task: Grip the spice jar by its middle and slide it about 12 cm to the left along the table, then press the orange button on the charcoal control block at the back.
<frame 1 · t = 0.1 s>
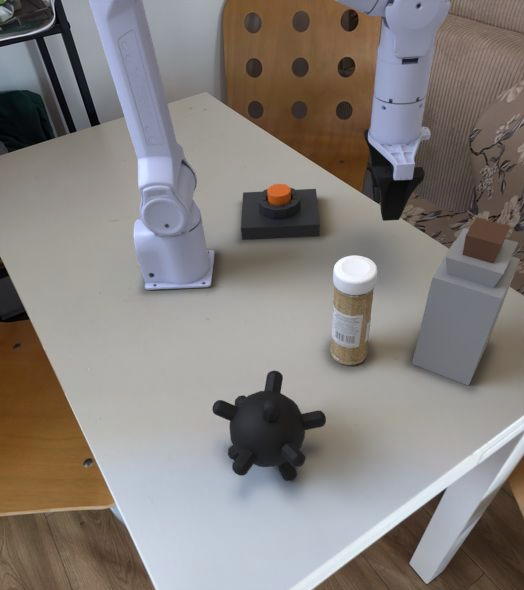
hand: (385, 201, 67), 10 cm above the table, tool pointing down, fingers open, 7 cm apart
control block: (280, 219, 83), on the table
button: (279, 195, 80), point 4 cm above the table, slide at 0.1 cm
spice jar: (348, 353, 64), on the table
toy ball: (266, 456, 55), on the table
perfume bottle: (449, 356, 62), on the table
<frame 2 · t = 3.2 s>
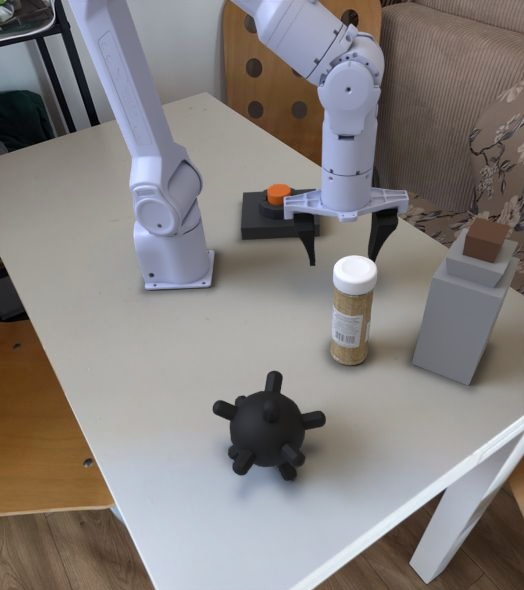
hand: (341, 259, 68), 5 cm above the table, tool pointing down, fingers open, 7 cm apart
nothing on the table moved.
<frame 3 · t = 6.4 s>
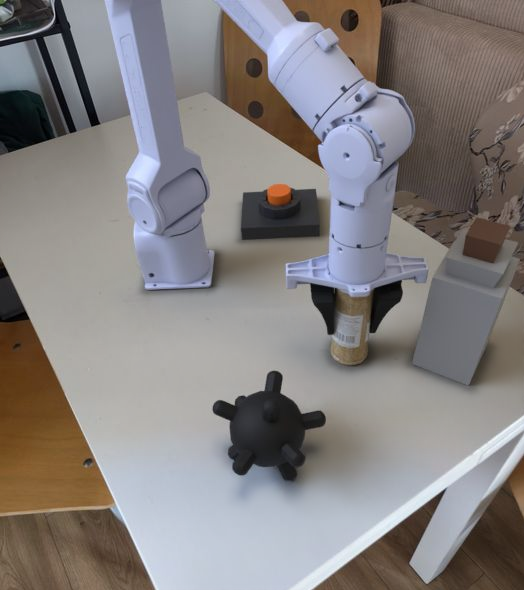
hand: (350, 327, 60), 4 cm above the table, tool pointing down, fingers closed on spice jar, 4 cm apart
spice jar: (348, 353, 64), on the table, touching gripper
everything else where it was.
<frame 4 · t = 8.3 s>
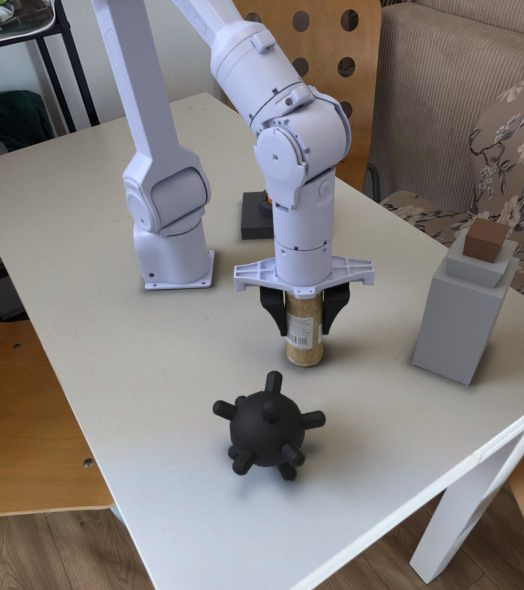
hand: (303, 329, 61), 4 cm above the table, tool pointing down, fingers closed on spice jar, 4 cm apart
spice jar: (304, 355, 64), on the table, touching gripper
everything else where it was.
when the fingers open (4 cm above the table, at t = 10.5 s): spice jar stays where it is, on the table.
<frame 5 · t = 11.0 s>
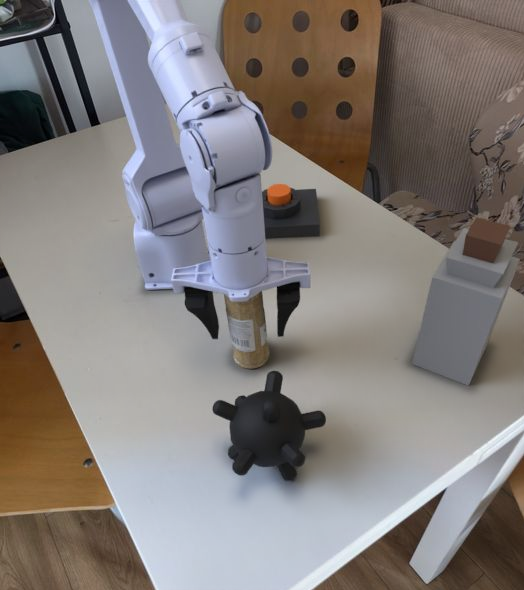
hand: (248, 331, 61), 4 cm above the table, tool pointing down, fingers open, 7 cm apart
spice jar: (251, 357, 64), on the table
everything else where it was.
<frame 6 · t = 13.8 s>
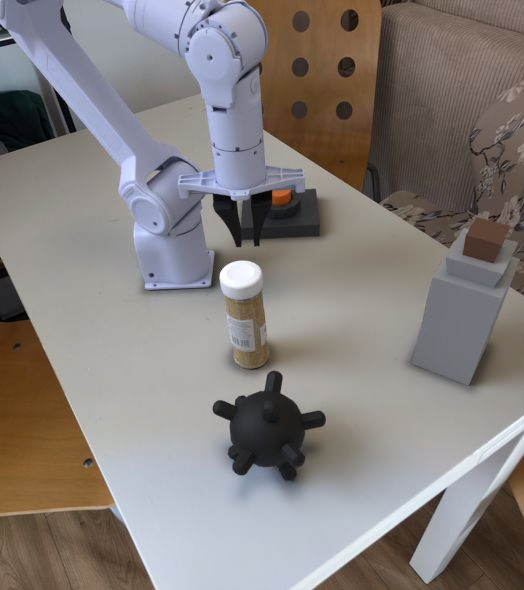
hand: (248, 242, 66), 8 cm above the table, tool pointing down, fingers closed
nothing on the table moved.
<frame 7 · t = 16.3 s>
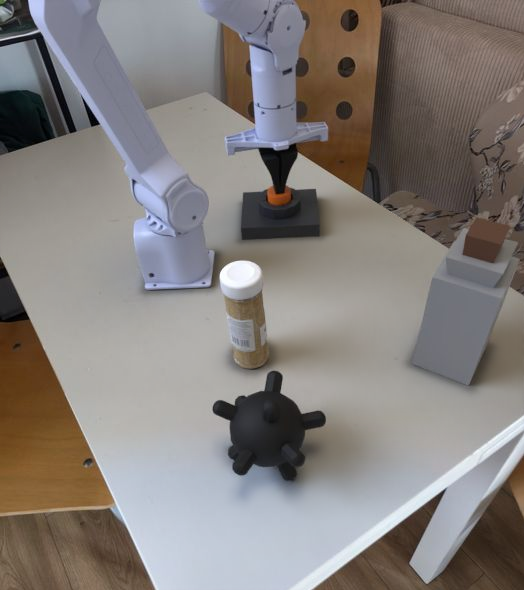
hand: (279, 190, 79), 5 cm above the table, tool pointing down, fingers closed, pressing on button
button: (279, 195, 80), point 4 cm above the table, slide at 0.0 cm, touching gripper
everything else where it was.
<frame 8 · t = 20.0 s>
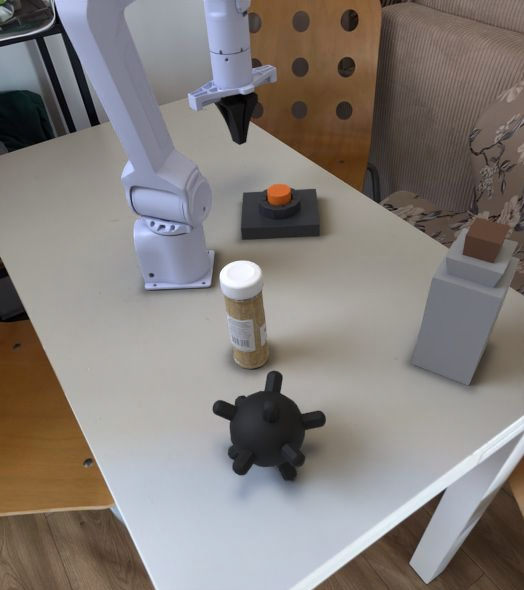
hand: (239, 141, 82), 9 cm above the table, tool pointing down, fingers closed
button: (279, 195, 80), point 4 cm above the table, slide at 0.1 cm
everything else where it was.
at the end: spice jar inside the target area (0.0 cm from its centre), on the table; spice jar tilted 0°; button pushed in 1.2 cm at the most during the clip, back to where it started at the end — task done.
